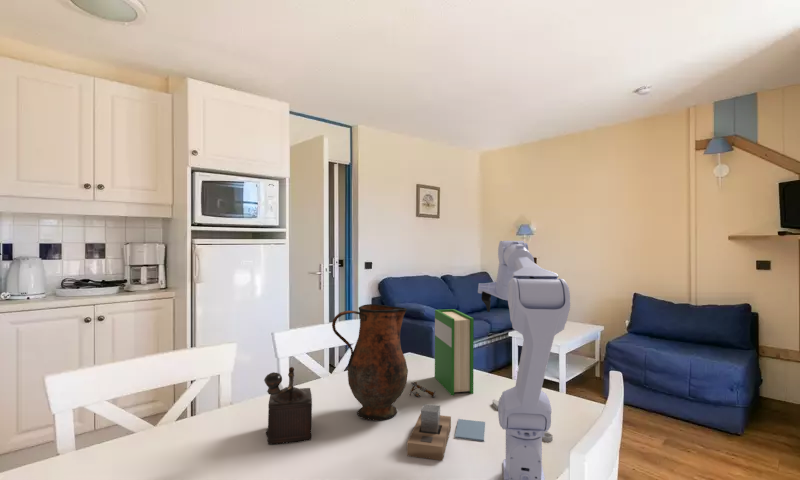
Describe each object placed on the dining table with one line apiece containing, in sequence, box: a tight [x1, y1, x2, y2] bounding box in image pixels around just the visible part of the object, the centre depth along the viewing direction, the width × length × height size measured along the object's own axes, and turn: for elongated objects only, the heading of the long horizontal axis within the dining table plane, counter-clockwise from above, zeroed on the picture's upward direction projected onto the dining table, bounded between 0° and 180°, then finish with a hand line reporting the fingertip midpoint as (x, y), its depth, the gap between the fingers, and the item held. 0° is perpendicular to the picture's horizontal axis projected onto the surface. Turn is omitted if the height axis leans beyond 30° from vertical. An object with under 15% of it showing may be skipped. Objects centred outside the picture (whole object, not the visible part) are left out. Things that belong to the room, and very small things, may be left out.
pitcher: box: [331, 303, 409, 422], centre depth 112 cm, size 17×21×30 cm
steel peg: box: [420, 403, 441, 435], centre depth 97 cm, size 4×4×8 cm
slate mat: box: [454, 418, 486, 442], centre depth 103 cm, size 10×7×1 cm
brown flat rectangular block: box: [406, 413, 452, 462], centre depth 97 cm, size 16×8×3 cm, turn 166°
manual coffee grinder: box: [263, 366, 313, 445], centre depth 99 cm, size 16×11×18 cm
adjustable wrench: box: [492, 396, 554, 443], centre depth 109 cm, size 25×6×2 cm, turn 11°
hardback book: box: [434, 308, 475, 396], centre depth 136 cm, size 18×7×24 cm, turn 12°
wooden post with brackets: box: [408, 381, 436, 399], centre depth 125 cm, size 2×8×4 cm, turn 85°
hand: (502, 311), depth 112 cm, fingers open, 7 cm apart
